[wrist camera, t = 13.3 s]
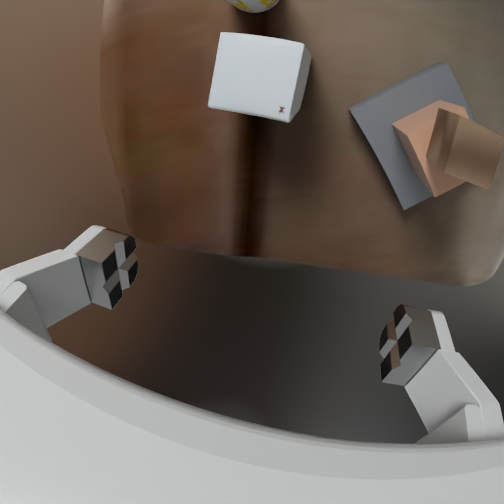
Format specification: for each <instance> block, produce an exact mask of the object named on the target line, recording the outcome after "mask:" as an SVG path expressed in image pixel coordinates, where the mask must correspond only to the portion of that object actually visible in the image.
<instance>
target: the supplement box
mask: <svg viewBox="0 0 504 504" xmlns="http://www.w3.org/2000/svg"><path fill="white" fill-rule="evenodd" d="M311 58H312V56H311V54H310V53H309V51H308V49H307V48H306V46H305V45H304V44H303V43H299V42H295V41H290V40H285V39H279V38H273V37H267V36H259V35H251V34H242V33H229V32H221V33H220V39H219V45H218V51H217V57H216V62H215V68H214V73H213V79H212V84H211V90H210V96H209V101H208V107H210V108H215V109H221V110H228V111H234V112H239V113H245V114H249V115H255V116H260V117H265V118H270V119H274V120H279V121H283V122H287V123H289V122H290V121H291V120H292V118H293V117H294V116H295V115H296V113H297V112H298V111H299V110H300V107H301V103H302V99H303V95H304V91H305V87H306V82H307V78H308V73H309V68H310V63H311Z"/></svg>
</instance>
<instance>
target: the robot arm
mask: <svg viewBox="0 0 504 504" xmlns="http://www.w3.org/2000/svg"><path fill="white" fill-rule="evenodd" d="M135 249H136V241H135V238H134V237H133V236H131V235H128V234H125V233H122V232H118V231H115V230H112V229H107V228H105V227H101V226H98V225H93V226H91V227H90V228H89V229H87V230H86V231H85V232H84V233H83V234H81V235H80V236H79V237H78V238H77V239H76V240H75V241H73V242H72V243H71V244H70V245H69V246H68V247H66V248H65V249H64V250H61V249H59V250H56V251H53V252H50V253H47V254H45V255H42V256H39V257H36V258H33V259H30V260H28V261H25V262H22V263H19V264H16V265H14V266H11V267H9V268H6V269H3V270H1V271H0V504H504V424H503V419H502V414H501V409H500V405H499V403H498V401H497V400H496V399H495V397H494V396H493V395H492V393H491V392H490V391H489V390H488V388H487V387H486V386H485V384H484V383H483V382H482V380H481V379H480V378H479V377H478V375H477V374H476V373H475V372H474V371H473V369H472V368H471V367H470V366H469V364H468V363H467V362H466V361H465V360H464V358H463V357H462V356H461V355H460V354H459V353H456V352H455V350H454V346H453V343H452V339H451V336H450V332H449V329H448V326H447V323H446V320H445V317H444V315H443V313H442V312H438V311H433V310H426V309H421V308H417V307H412V306H408V305H404V304H400V305H399V306H398V307H396V309H395V311H394V312H393V316H394V319H393V320H392V321H390V322H388V323H387V324H386V325H385V327H384V329H383V330H382V333H381V336H380V341H379V353H380V354H381V355H382V357H383V358H384V360H383V361H382V362H381V364H380V368H381V382H383V383H389V384H396V385H403V386H405V389H406V391H407V393H408V395H409V396H410V398H411V400H412V402H413V404H414V405H415V407H416V409H417V411H418V413H419V415H420V417H421V419H422V421H423V423H424V424H425V427H426V429H427V431H428V433H429V434H428V435H426V436H425V437H423V438H422V439H420V440H419V441H418V442H417V443H416V444H390V443H389V444H388V443H373V442H360V441H351V440H342V439H334V438H327V437H320V436H312V435H307V434H301V433H296V432H291V431H285V430H281V429H276V428H271V427H267V426H262V425H258V424H254V423H250V422H245V421H242V420H238V419H234V418H230V417H227V416H224V415H220V414H217V413H213V412H210V411H207V410H204V409H200V408H197V407H194V406H191V405H188V404H185V403H182V402H179V401H177V400H174V399H171V398H168V397H165V396H163V395H160V394H158V393H155V392H153V391H150V390H148V389H145V388H143V387H140V386H138V385H135V384H133V383H131V382H128V381H126V380H124V379H122V378H119V377H117V376H115V375H113V374H111V373H108V372H106V371H104V370H102V369H100V368H98V367H96V366H94V365H92V364H90V363H88V362H86V361H84V360H82V359H80V358H78V357H76V356H74V355H73V354H71V353H69V352H67V351H65V350H64V349H62V348H60V347H58V346H56V345H55V344H53V343H51V338H50V336H49V334H48V332H47V330H46V328H47V327H49V326H51V325H53V324H54V323H56V322H58V321H60V320H61V319H63V318H65V317H67V316H69V315H70V314H72V313H74V312H76V311H78V310H79V309H81V308H83V307H85V306H87V305H88V304H90V303H91V302H93V303H95V304H98V305H101V306H104V307H106V308H109V309H113V308H114V306H115V305H116V304H117V303H118V302H119V300H120V299H121V298H122V296H123V293H122V290H123V289H126V288H128V287H130V286H131V284H132V283H133V282H134V280H135V278H136V275H137V272H138V259H137V258H136V256H135V254H134V253H133V251H134V250H135Z"/></svg>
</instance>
